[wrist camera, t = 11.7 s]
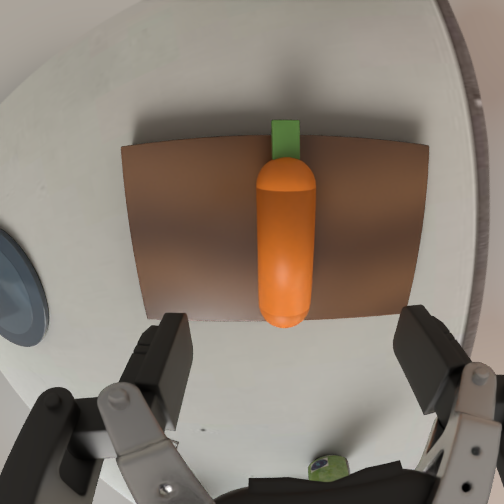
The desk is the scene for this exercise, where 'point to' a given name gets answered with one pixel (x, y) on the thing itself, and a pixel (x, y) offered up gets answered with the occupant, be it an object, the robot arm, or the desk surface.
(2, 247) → the slate plate
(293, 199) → the carrot
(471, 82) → the desk surface
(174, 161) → the cutting board
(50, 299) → the desk surface
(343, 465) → the beverage can
